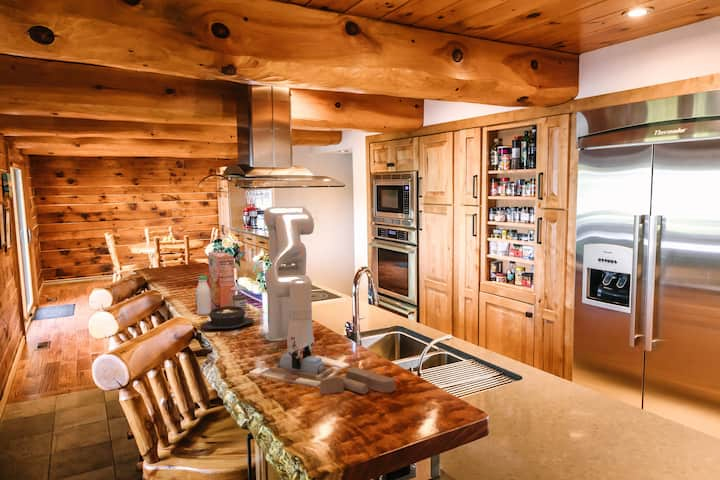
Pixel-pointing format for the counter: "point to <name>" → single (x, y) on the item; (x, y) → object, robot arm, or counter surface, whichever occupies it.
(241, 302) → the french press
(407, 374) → the counter surface
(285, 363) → the notched grey stepped bar
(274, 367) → the jig
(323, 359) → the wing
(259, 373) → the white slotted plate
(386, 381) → the wooden block set
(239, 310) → the casserole
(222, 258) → the pasta box
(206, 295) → the milk bottle
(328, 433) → the counter surface
